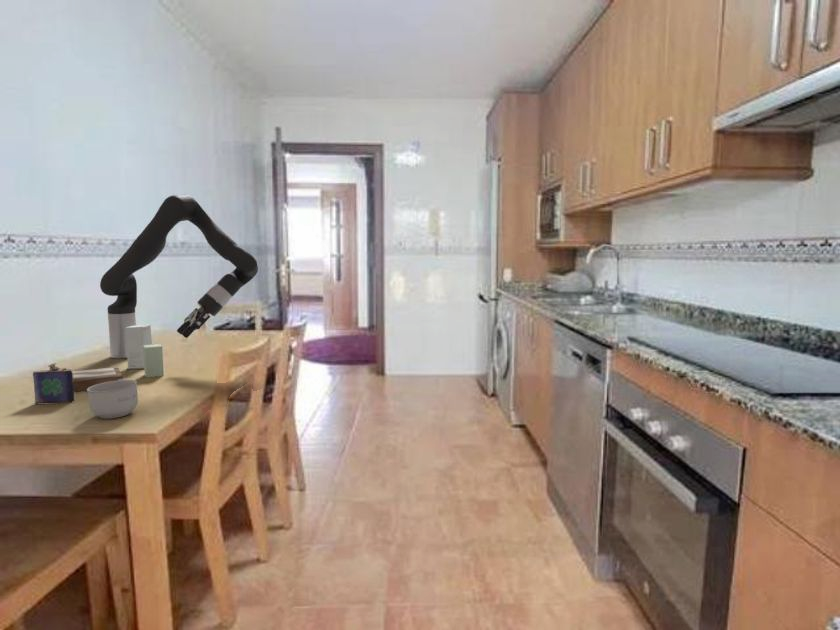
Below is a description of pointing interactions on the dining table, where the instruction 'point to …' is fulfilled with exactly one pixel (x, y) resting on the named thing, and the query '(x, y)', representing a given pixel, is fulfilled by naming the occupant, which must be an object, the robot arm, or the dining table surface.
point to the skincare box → (137, 344)
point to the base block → (94, 377)
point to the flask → (53, 385)
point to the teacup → (113, 398)
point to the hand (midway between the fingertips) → (181, 334)
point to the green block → (153, 360)
